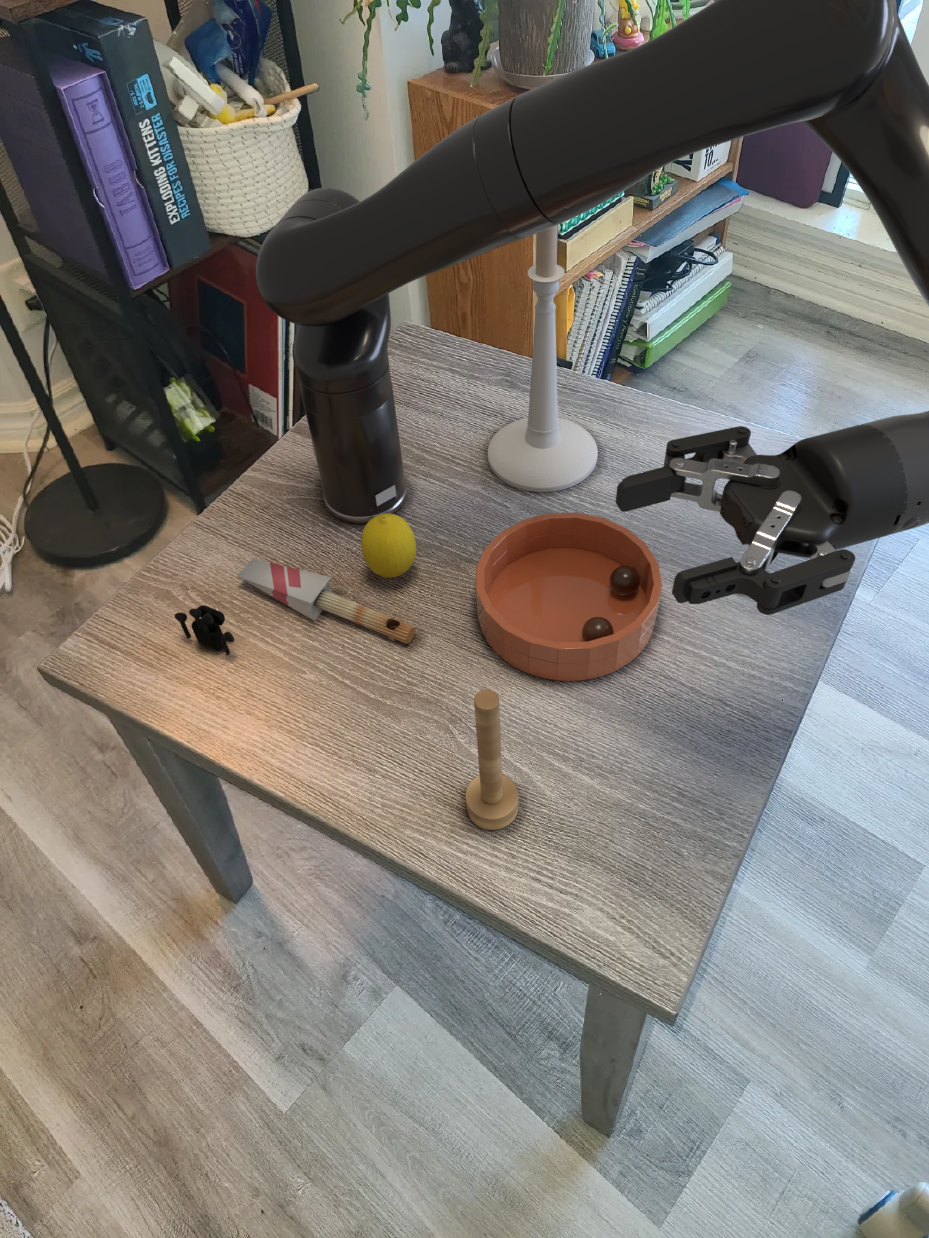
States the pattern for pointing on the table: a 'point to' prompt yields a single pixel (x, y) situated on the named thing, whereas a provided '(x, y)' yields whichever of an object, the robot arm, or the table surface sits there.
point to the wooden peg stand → (490, 770)
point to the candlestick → (543, 402)
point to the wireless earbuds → (207, 628)
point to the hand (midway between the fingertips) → (645, 541)
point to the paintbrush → (318, 597)
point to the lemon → (388, 545)
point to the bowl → (565, 595)
